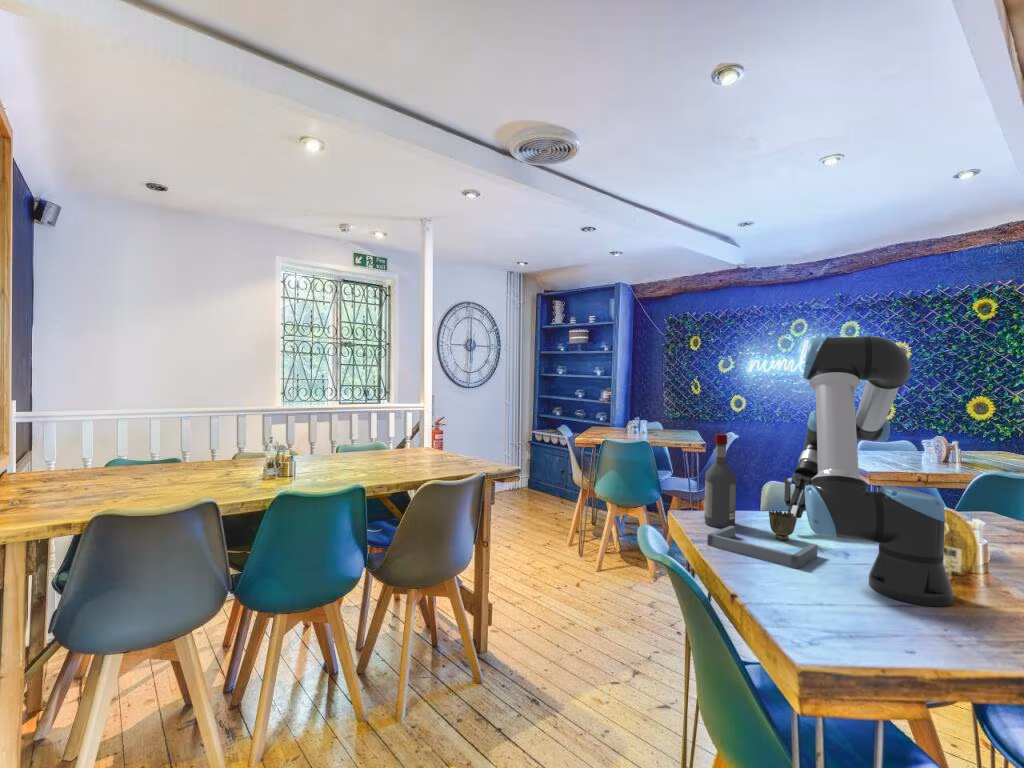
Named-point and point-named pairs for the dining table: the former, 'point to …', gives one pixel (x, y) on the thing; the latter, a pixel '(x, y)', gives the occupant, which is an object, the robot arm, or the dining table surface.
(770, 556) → the corral
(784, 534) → the cup
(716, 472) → the liquor
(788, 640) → the dining table surface
